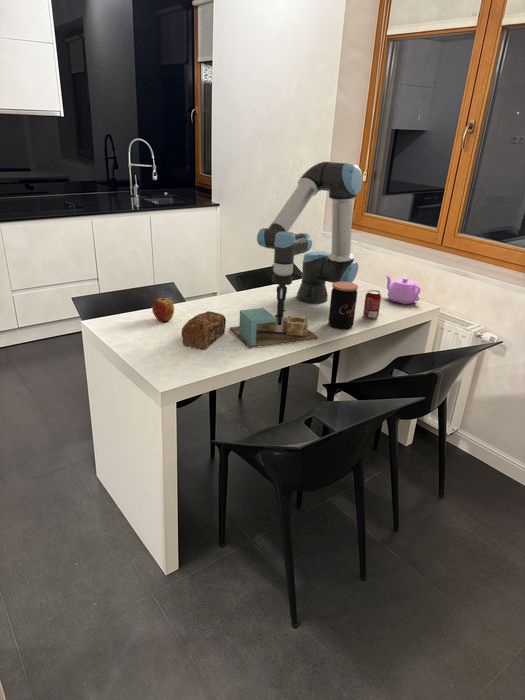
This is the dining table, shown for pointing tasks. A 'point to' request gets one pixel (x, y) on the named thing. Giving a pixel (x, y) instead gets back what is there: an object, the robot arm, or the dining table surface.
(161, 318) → the apple
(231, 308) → the dining table surface
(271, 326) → the wooden square socket bar
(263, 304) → the dining table surface
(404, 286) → the teapot
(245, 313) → the block
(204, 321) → the bread
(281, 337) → the pintle board
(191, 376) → the dining table surface
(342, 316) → the coffee jar
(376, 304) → the soda can
